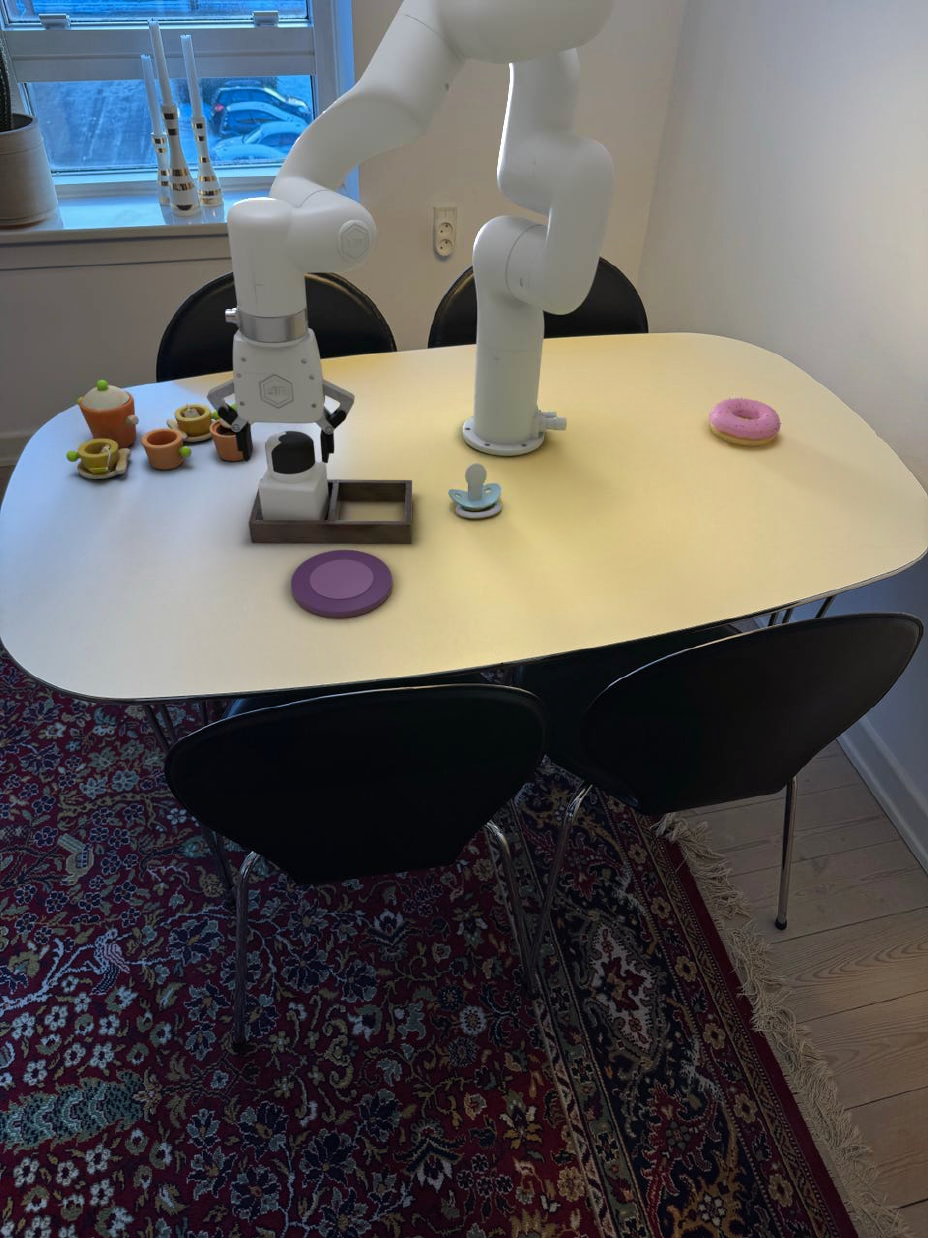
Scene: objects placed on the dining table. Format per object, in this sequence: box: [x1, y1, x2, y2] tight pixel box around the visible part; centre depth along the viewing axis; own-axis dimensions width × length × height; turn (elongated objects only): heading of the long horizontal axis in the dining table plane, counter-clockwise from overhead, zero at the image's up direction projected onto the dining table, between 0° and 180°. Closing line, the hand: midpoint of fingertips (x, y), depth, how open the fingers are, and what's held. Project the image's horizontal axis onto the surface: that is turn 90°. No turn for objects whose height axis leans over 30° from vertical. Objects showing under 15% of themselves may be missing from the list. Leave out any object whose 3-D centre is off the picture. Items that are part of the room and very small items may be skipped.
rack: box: [248, 478, 413, 544], centre depth 112 cm, size 20×11×3 cm, turn 92°
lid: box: [290, 549, 393, 619], centre depth 103 cm, size 12×12×1 cm
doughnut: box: [708, 396, 782, 447], centre depth 134 cm, size 11×11×4 cm
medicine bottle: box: [257, 430, 330, 521], centre depth 109 cm, size 7×7×12 cm
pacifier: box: [447, 462, 503, 519], centre depth 114 cm, size 7×6×6 cm
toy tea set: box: [65, 379, 255, 480], centre depth 123 cm, size 26×16×10 cm, turn 106°
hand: (287, 456), depth 107 cm, fingers open, 9 cm apart
